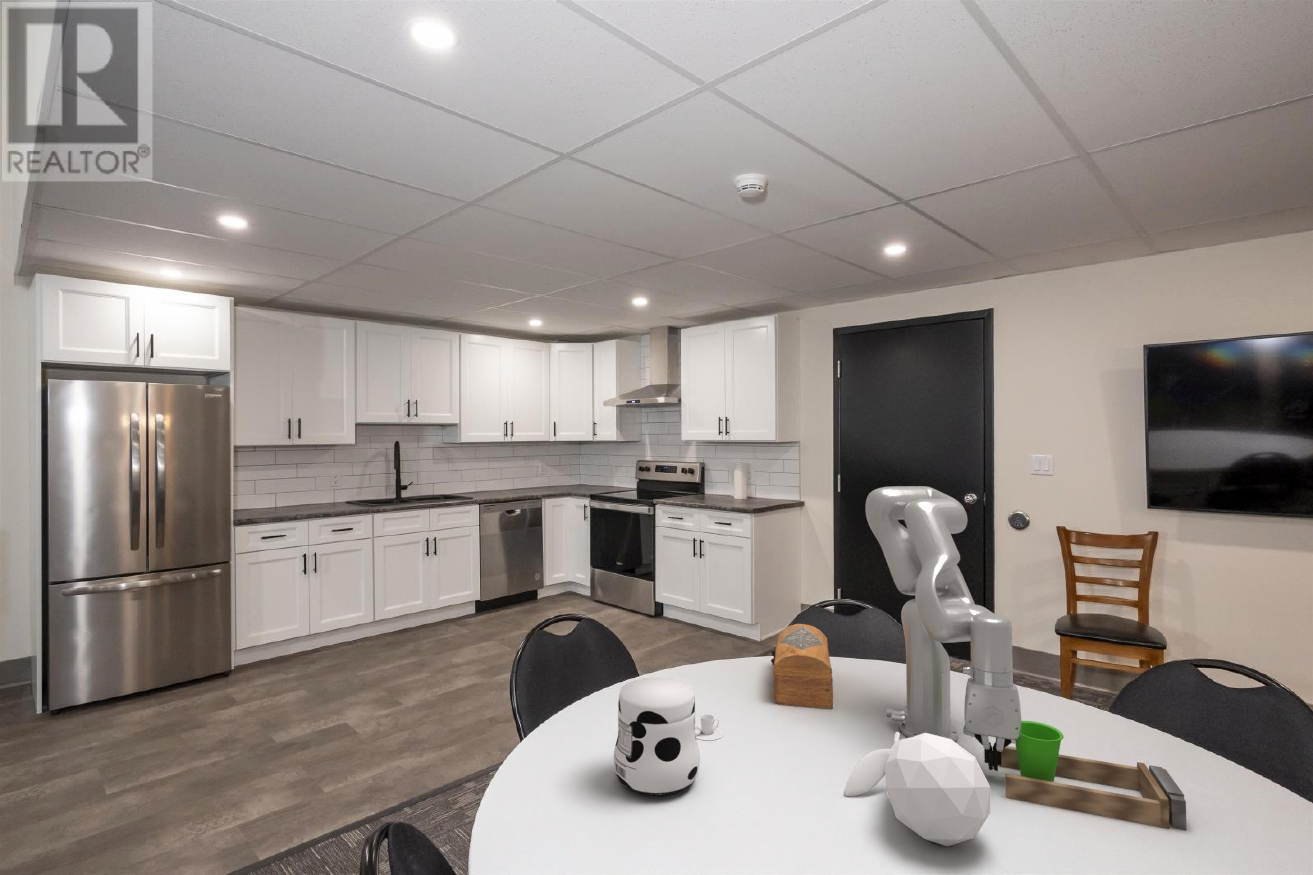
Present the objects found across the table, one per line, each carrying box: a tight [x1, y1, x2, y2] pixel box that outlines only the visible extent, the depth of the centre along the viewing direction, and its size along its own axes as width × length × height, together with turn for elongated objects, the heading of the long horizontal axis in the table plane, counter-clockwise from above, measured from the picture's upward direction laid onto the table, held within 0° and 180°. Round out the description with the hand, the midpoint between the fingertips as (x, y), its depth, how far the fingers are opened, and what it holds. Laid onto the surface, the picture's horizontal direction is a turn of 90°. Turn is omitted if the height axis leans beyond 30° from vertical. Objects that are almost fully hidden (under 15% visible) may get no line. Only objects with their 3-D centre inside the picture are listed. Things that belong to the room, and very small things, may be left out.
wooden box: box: [770, 623, 834, 710], centre depth 181 cm, size 30×16×14 cm, turn 167°
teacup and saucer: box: [695, 714, 725, 741], centre depth 151 cm, size 9×8×4 cm
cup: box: [1015, 720, 1065, 782], centre depth 127 cm, size 9×9×11 cm
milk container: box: [613, 677, 701, 796], centre depth 130 cm, size 17×17×18 cm
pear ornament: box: [843, 731, 991, 847], centre depth 116 cm, size 16×22×28 cm
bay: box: [1000, 745, 1187, 831], centre depth 124 cm, size 28×14×5 cm, turn 67°
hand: (992, 767), depth 130 cm, fingers closed
